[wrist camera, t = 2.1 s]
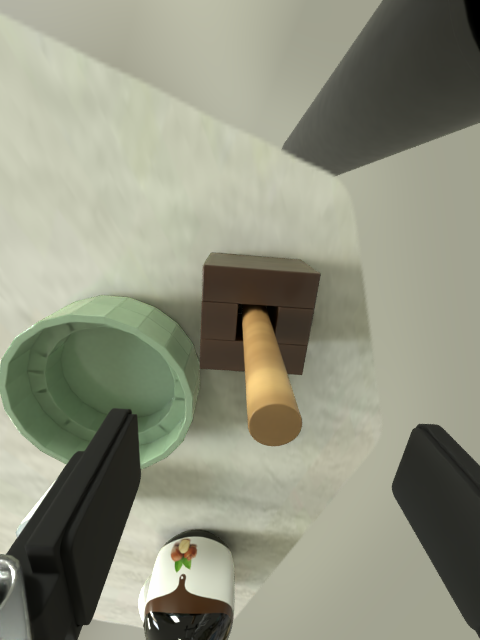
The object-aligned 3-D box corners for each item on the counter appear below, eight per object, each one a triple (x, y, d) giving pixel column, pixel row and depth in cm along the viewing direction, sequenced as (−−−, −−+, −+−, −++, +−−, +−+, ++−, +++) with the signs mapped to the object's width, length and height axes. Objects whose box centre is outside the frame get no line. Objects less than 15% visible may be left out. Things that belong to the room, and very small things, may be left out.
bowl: (30, 287, 24) (-25, 307, 19) (203, 300, 25) (194, 322, 20) (57, 424, 30) (20, 468, 25) (198, 432, 31) (191, 476, 25)
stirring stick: (241, 288, 25) (250, 401, 10) (264, 289, 25) (306, 405, 10) (240, 309, 25) (245, 445, 11) (261, 310, 26) (298, 448, 11)
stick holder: (210, 252, 24) (202, 264, 18) (301, 259, 24) (321, 273, 18) (207, 335, 26) (199, 368, 21) (288, 341, 27) (302, 375, 21)
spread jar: (236, 528, 36) (236, 663, 25) (231, 580, 40) (229, 715, 29) (143, 525, 36) (103, 661, 25) (148, 578, 40) (115, 714, 29)
